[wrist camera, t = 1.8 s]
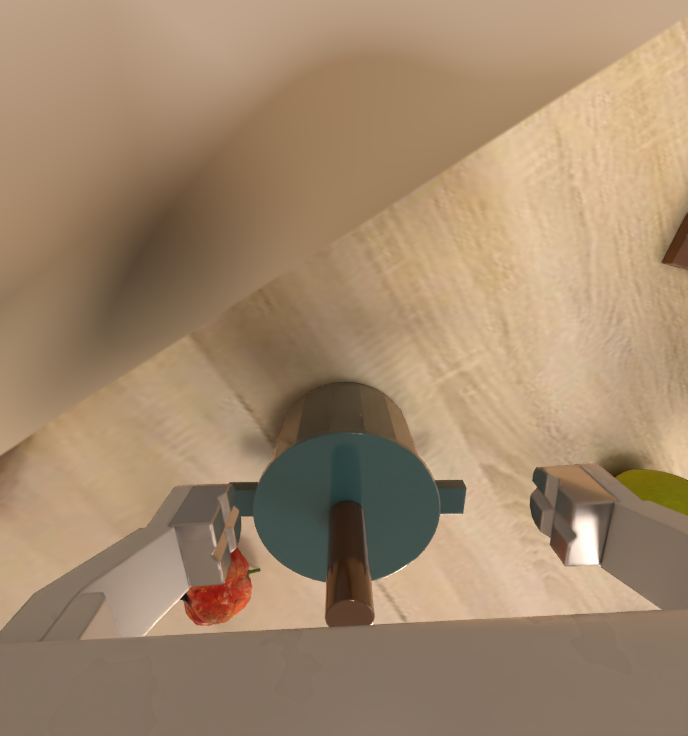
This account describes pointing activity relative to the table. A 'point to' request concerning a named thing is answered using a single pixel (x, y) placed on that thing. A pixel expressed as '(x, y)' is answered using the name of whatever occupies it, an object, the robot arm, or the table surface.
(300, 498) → the lid
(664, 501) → the fruit
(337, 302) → the table surface
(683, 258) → the plate
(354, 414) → the pot
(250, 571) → the pomegranate
